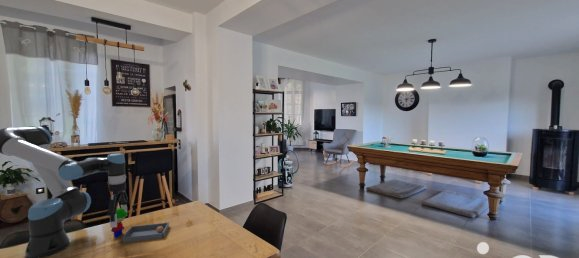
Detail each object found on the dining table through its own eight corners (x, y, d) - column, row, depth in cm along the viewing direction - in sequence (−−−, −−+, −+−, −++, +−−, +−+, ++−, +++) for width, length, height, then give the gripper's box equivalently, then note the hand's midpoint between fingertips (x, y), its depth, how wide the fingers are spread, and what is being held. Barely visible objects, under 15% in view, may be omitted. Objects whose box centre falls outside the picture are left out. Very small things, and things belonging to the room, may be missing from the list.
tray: (121, 244, 122) (121, 238, 122) (131, 231, 135) (131, 226, 135) (163, 238, 127) (163, 233, 127) (168, 227, 140) (168, 222, 140)
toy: (121, 239, 126) (120, 211, 125) (107, 239, 126) (105, 211, 125) (131, 232, 134) (130, 206, 133) (117, 232, 134) (116, 206, 133)
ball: (155, 234, 131) (155, 228, 130) (157, 231, 134) (157, 225, 134) (162, 233, 131) (162, 227, 131) (164, 230, 135) (164, 224, 135)
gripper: (115, 189, 117) (117, 231, 119) (133, 176, 141) (135, 211, 143) (97, 190, 115) (99, 233, 117) (119, 177, 139) (120, 212, 141)
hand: (119, 221), depth 130 cm, fingers open, 13 cm apart
